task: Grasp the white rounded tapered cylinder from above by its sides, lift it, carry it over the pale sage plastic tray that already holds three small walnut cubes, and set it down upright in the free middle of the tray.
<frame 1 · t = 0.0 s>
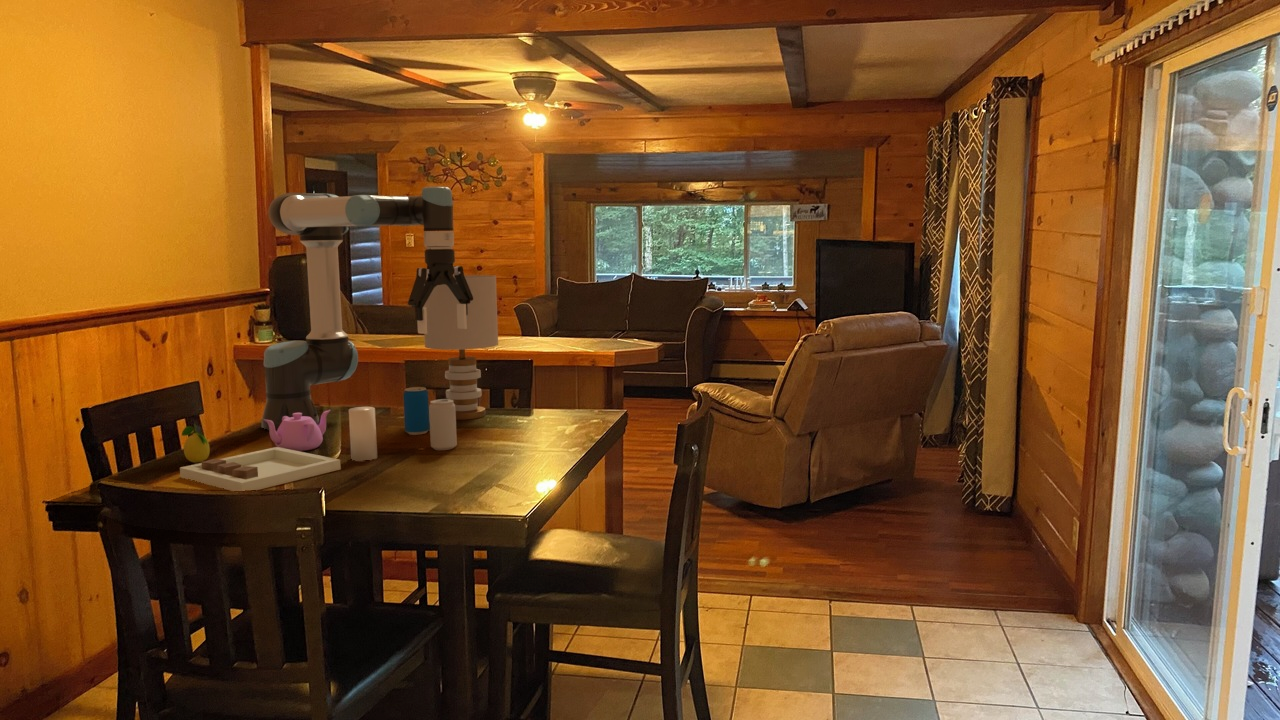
hand: (442, 331, 249), 28 cm above the table, fingers open, 13 cm apart
lamp: (464, 416, 282), on the table
beverage can 2: (443, 448, 240), on the table
walnut cube B: (230, 480, 208), point 1 cm above the table, touching tray
teapot: (300, 448, 244), on the table
white rounded tapered cylinder: (364, 458, 230), on the table
walnut cube A: (214, 476, 211), point 1 cm above the table, touching tray
walnut cube C: (246, 484, 204), point 1 cm above the table, touching tray
lemon: (197, 466, 226), on the table
tray: (261, 476, 214), on the table
beverage can: (417, 433, 259), on the table
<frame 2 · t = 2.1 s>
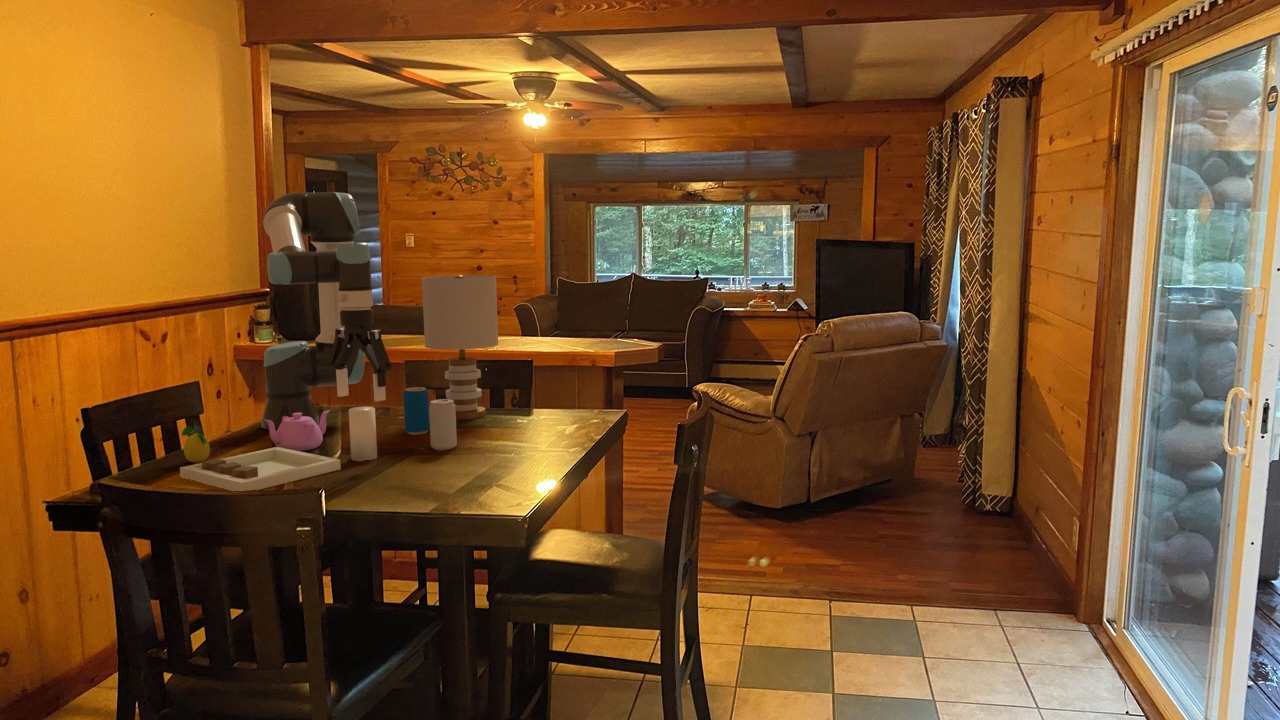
hand: (361, 398, 228), 15 cm above the table, fingers open, 13 cm apart
nothing on the table moved.
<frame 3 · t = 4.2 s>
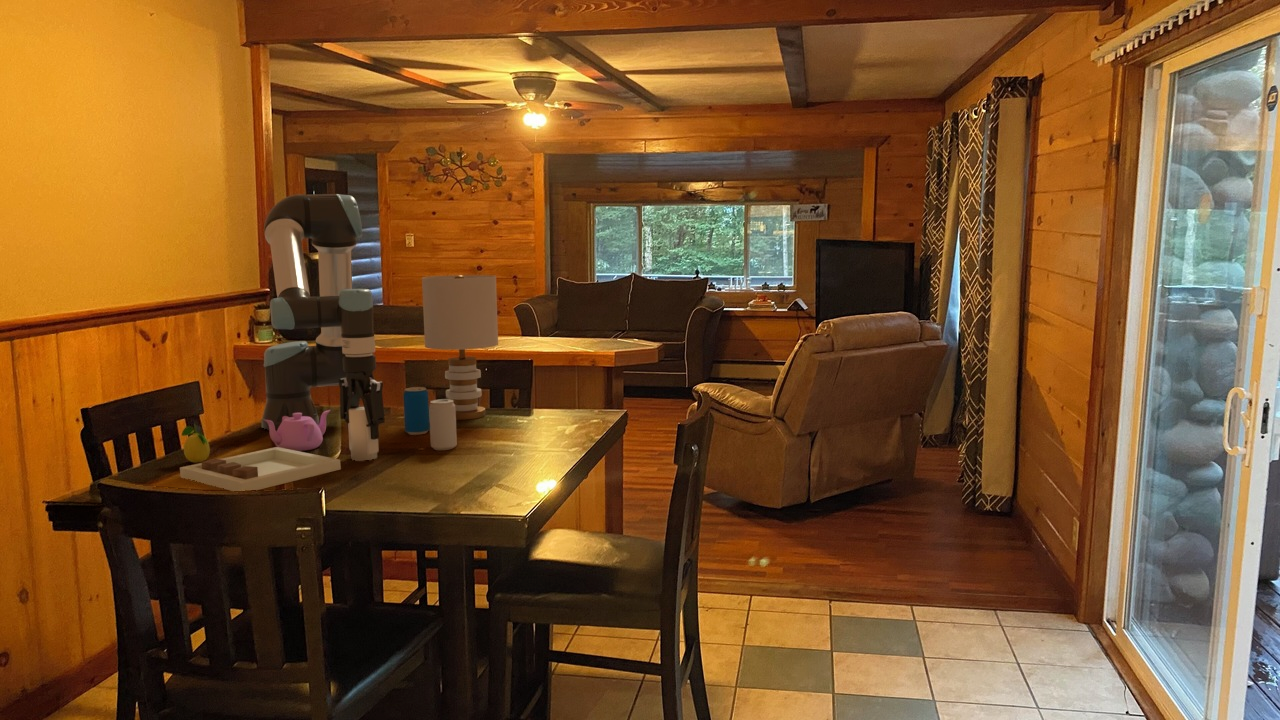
hand: (364, 450, 230), 2 cm above the table, fingers closed on white rounded tapered cylinder, 6 cm apart
white rounded tapered cylinder: (364, 458, 230), on the table, touching gripper
everything else where it was.
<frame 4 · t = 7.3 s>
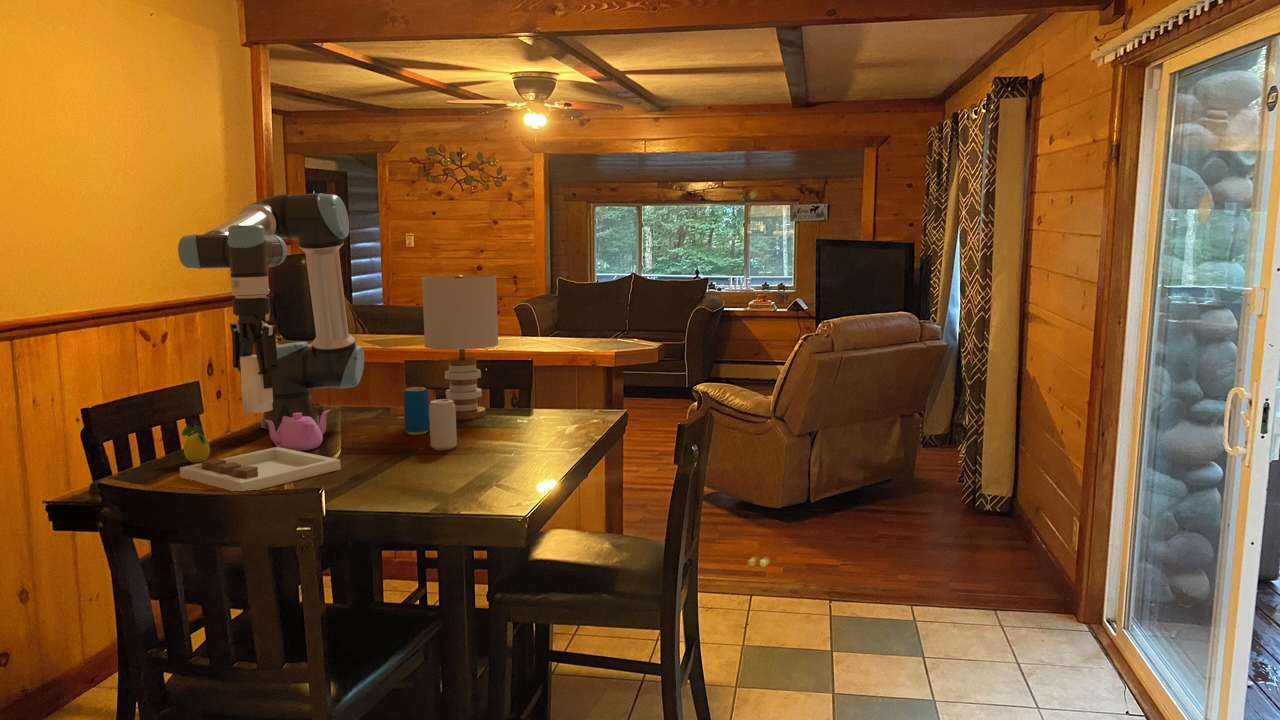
hand: (257, 401, 212), 17 cm above the table, fingers closed on white rounded tapered cylinder, 6 cm apart
white rounded tapered cylinder: (258, 410, 212), point 15 cm above the table, touching gripper
everything else where it was.
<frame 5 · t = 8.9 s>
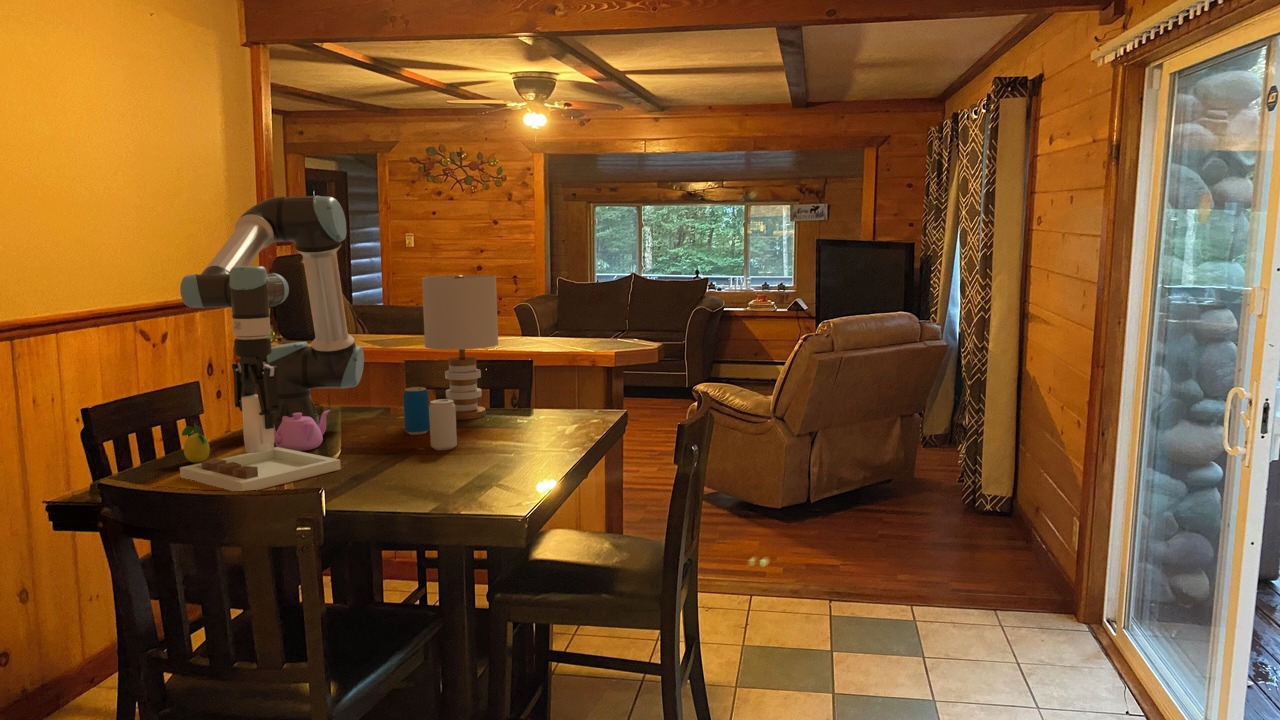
hand: (259, 441, 213), 8 cm above the table, fingers closed on white rounded tapered cylinder, 6 cm apart
white rounded tapered cylinder: (259, 449, 213), point 6 cm above the table, touching gripper
everything else where it was.
when the fingers open (4 cm above the table, at t = 10.5 s): white rounded tapered cylinder drops 1 cm, resting on tray.
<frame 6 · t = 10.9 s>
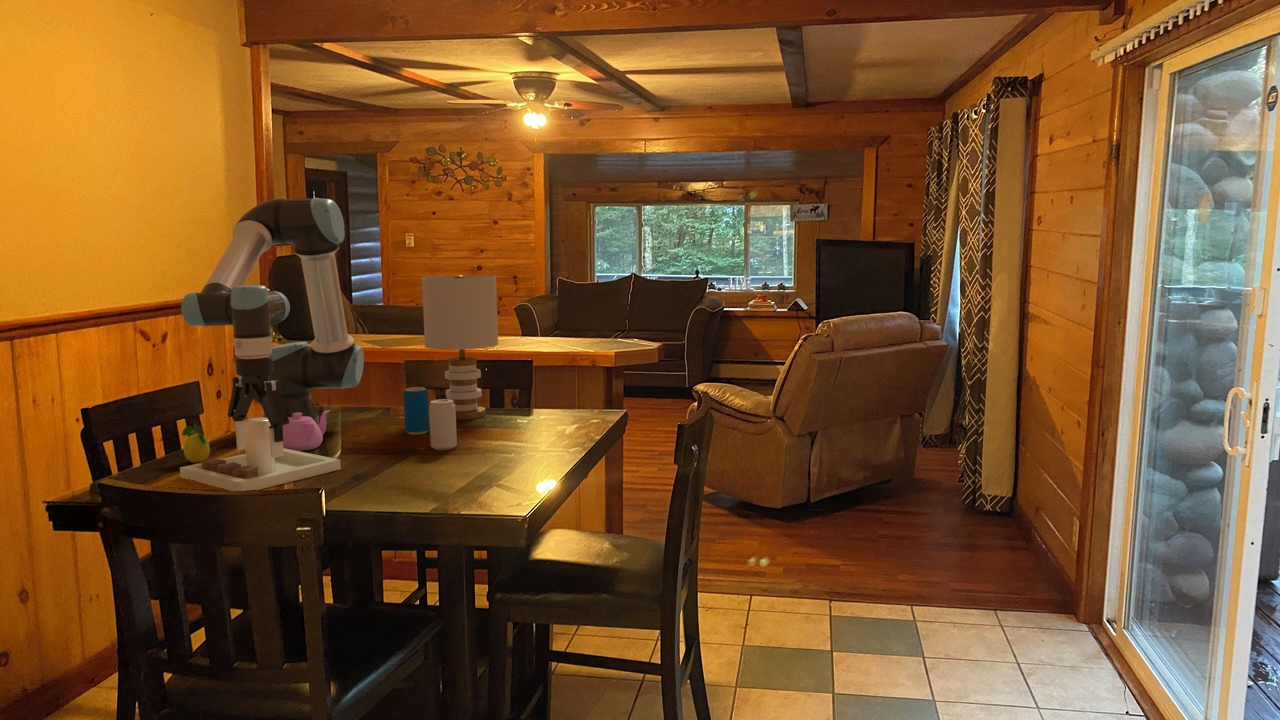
hand: (260, 452, 213), 5 cm above the table, fingers open, 12 cm apart
white rounded tapered cylinder: (261, 473, 214), point 1 cm above the table, touching tray
everything else where it was.
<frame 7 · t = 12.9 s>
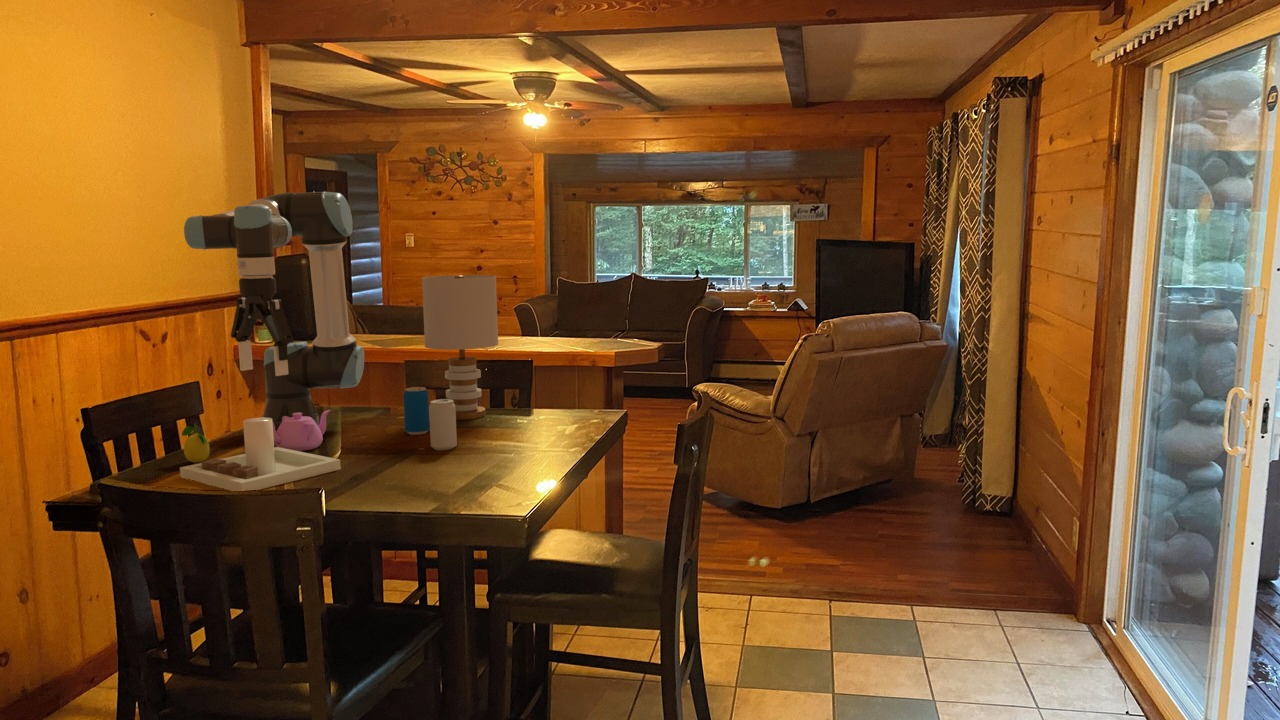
hand: (264, 372, 214), 23 cm above the table, fingers open, 13 cm apart
nothing on the table moved.
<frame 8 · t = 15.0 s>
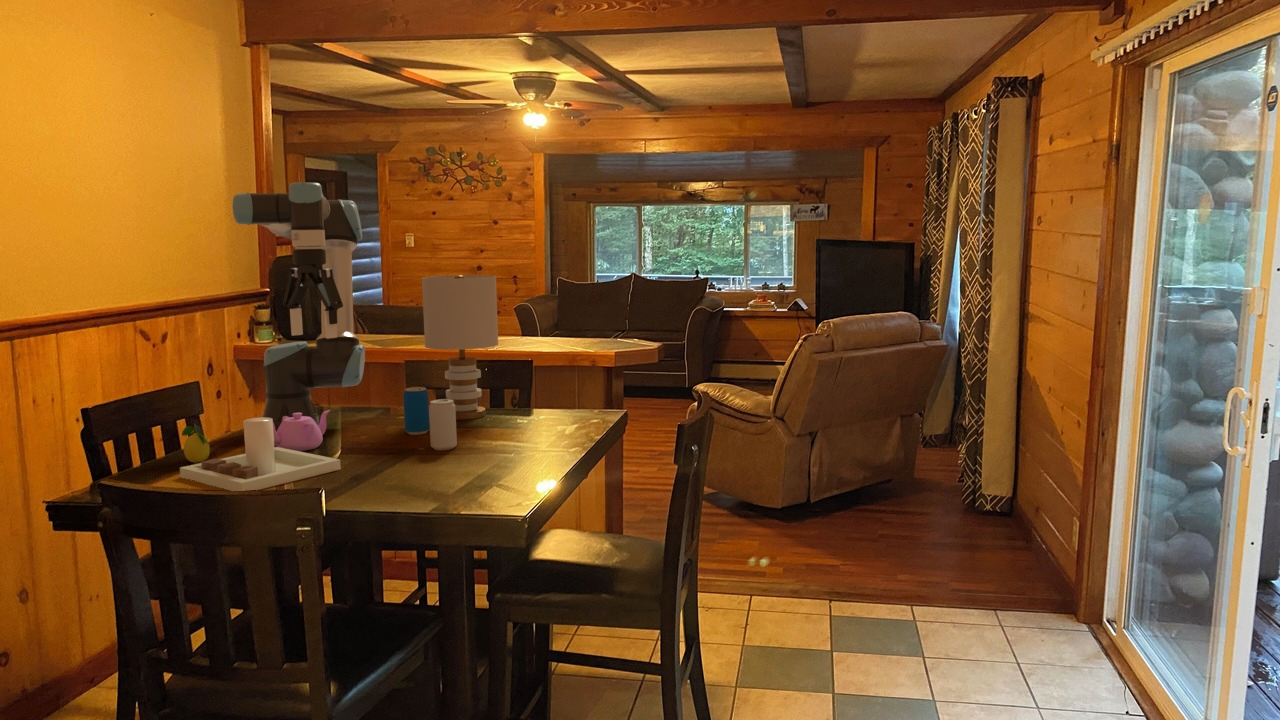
hand: (314, 336, 233), 29 cm above the table, fingers open, 13 cm apart
nothing on the table moved.
at the end: white rounded tapered cylinder inside the target area on the tray (0.0 cm from its centre), point 0.8 cm above the tray's base; white rounded tapered cylinder tilted 0°; the gripper is holding nothing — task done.
